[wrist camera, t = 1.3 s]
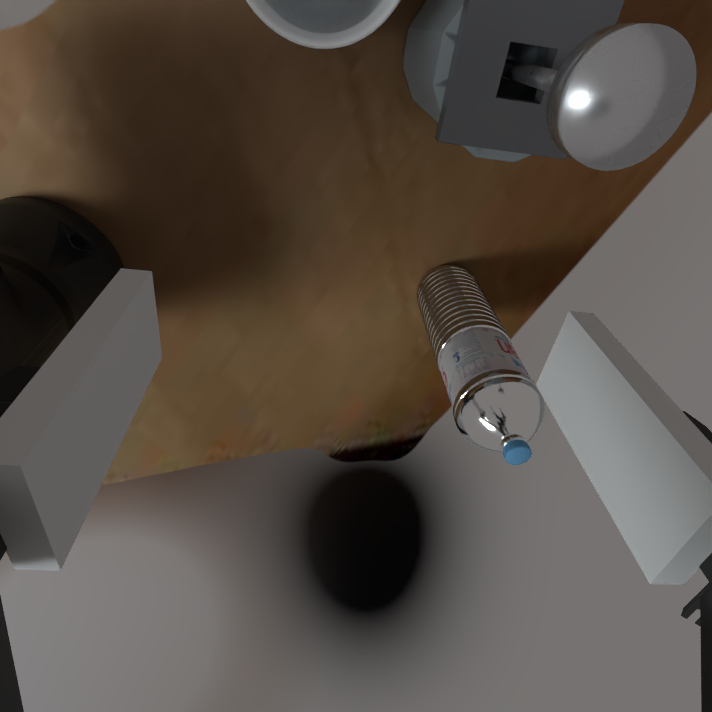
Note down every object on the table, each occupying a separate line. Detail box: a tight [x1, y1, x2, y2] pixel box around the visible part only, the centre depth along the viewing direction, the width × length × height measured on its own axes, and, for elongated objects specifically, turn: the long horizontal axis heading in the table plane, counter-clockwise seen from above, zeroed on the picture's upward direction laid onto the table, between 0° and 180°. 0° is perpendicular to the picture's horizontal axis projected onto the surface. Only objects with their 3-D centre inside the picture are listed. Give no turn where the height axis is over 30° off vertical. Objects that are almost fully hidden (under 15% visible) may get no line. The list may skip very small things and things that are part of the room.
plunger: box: [496, 23, 697, 171], centre depth 25 cm, size 6×6×16 cm
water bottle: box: [417, 265, 545, 465], centre depth 44 cm, size 7×7×25 cm
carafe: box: [403, 0, 625, 162], centre depth 34 cm, size 10×12×16 cm
